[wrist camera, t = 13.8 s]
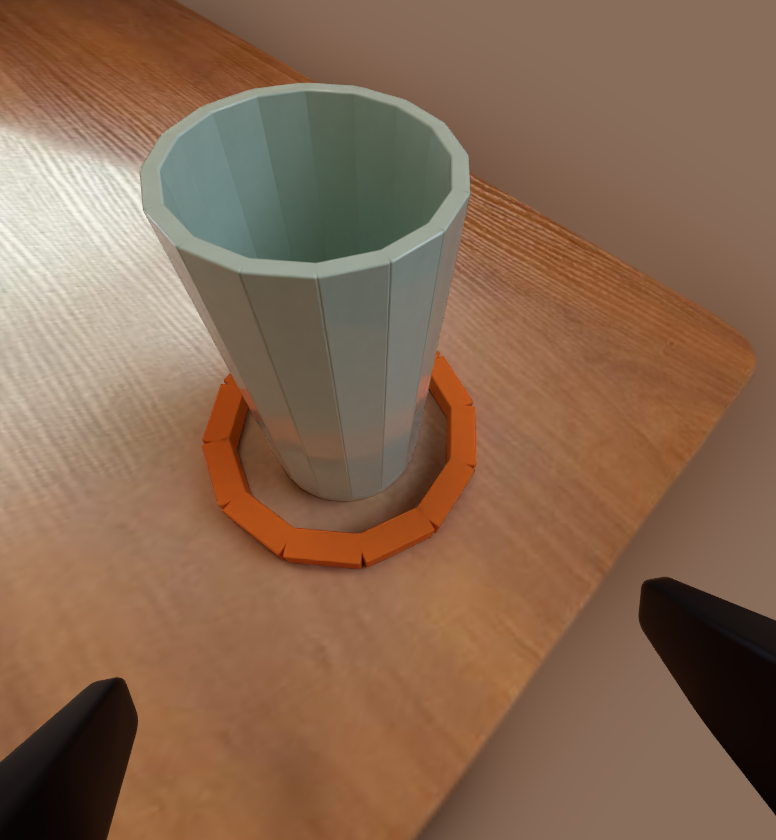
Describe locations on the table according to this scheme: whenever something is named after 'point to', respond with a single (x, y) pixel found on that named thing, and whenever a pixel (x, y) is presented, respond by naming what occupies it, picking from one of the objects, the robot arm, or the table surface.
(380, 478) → the cup
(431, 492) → the ring
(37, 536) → the table surface
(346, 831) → the table surface
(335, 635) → the table surface
